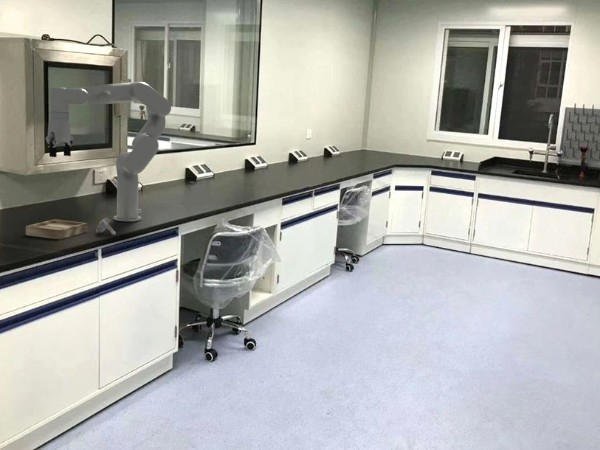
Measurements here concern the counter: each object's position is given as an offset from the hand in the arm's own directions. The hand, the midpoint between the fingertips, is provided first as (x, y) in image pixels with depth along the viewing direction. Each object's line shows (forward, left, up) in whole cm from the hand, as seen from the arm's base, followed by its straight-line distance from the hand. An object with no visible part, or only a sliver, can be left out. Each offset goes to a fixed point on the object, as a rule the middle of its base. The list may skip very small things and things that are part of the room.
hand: (60, 156), depth 260 cm
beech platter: (+16, +10, -30) cm, 36 cm away
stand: (+7, +26, -32) cm, 42 cm away
